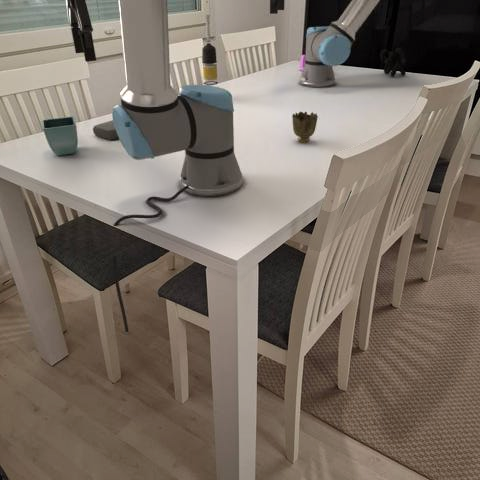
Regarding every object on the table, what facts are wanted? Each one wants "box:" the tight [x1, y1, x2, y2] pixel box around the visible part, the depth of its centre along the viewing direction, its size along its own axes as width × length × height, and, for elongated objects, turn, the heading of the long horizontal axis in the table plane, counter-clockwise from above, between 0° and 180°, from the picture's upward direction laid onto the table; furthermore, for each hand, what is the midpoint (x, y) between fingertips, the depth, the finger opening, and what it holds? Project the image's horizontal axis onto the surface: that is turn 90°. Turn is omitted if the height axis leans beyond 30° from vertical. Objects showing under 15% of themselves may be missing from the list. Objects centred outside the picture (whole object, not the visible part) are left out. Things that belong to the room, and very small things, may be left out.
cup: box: [291, 111, 319, 144], centre depth 132 cm, size 8×7×8 cm
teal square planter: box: [41, 116, 79, 156], centre depth 128 cm, size 9×9×9 cm
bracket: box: [299, 54, 306, 72], centre depth 223 cm, size 13×6×7 cm, turn 143°
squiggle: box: [379, 47, 407, 78], centre depth 207 cm, size 11×10×15 cm
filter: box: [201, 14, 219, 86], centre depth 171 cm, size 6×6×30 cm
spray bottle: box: [92, 119, 119, 141], centre depth 147 cm, size 3×11×25 cm
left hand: (85, 56), depth 122 cm, fingers open, 13 cm apart
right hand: (277, 11), depth 168 cm, fingers open, 13 cm apart
